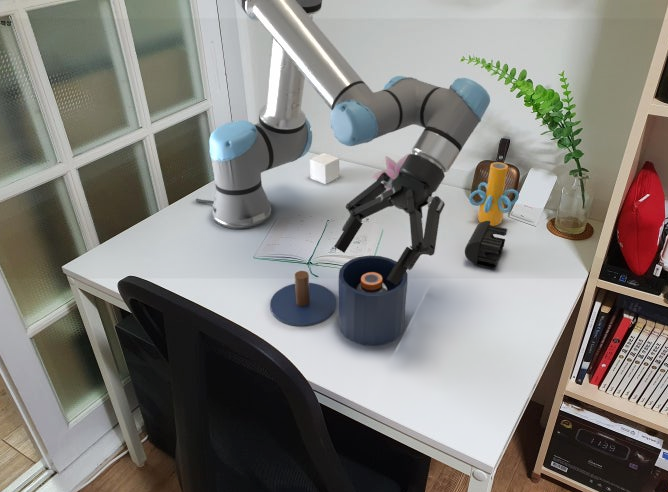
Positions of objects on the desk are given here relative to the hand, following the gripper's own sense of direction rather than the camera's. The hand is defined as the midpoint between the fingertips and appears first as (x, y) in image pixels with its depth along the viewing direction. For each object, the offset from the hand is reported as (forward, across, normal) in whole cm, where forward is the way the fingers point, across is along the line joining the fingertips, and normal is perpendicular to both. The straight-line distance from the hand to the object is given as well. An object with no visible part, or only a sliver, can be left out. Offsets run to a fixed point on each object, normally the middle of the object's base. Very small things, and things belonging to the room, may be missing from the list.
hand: (364, 265), depth 101 cm
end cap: (-16, 0, -38) cm, 42 cm away
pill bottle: (+9, 0, -12) cm, 15 cm away
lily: (-22, +36, -44) cm, 62 cm away
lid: (+13, +14, -8) cm, 21 cm away
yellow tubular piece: (-26, +9, -49) cm, 56 cm away
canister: (+9, 0, -13) cm, 16 cm away
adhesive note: (-16, +56, -38) cm, 70 cm away
